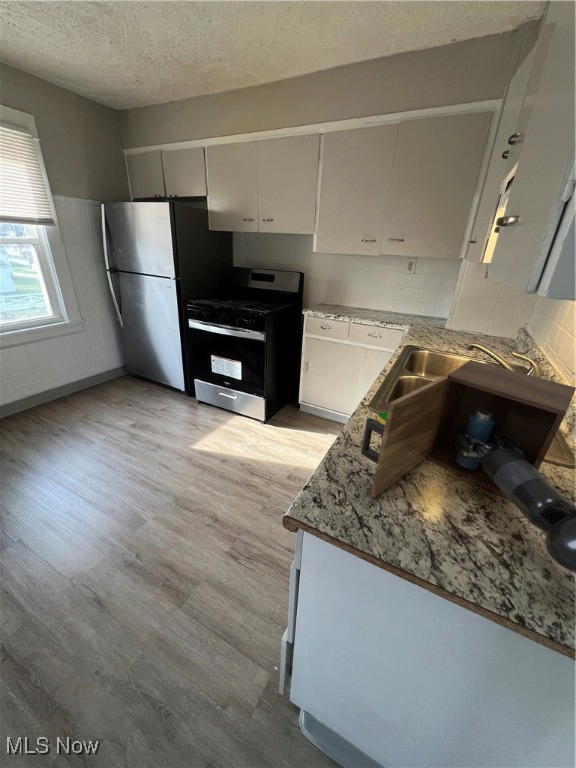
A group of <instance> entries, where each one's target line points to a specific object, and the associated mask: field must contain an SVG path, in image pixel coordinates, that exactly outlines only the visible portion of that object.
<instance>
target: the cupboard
mask: <svg viewBox="0 0 576 768" xmlns="http://www.w3.org/2000/svg"><path fill="white" fill-rule="evenodd" d="M446 377H448V380H447V383H446V387H445V390H444V394H443V397H442V401H441V404H440V408H439V411H438V415H437V418H436V422H435V425H434V429H433V432H432V436H431V439H430V443H429V447H428V450H427V454H426V457H425V460H428V461H430V462H433V463H435V464H437V465H438V466H441V467H442V468H445V469H447V470H449V471H451V472H453V473H455V474H456V475H459V476H461V477H463V478H465V479H467V480H469V481H471V482H473V483H475V484H477V485H480V486H481V487H484V488H486V489H487V490H490V491H492V492H494V493H495V494H498V495H499V496H502V497H504V498H505V499H508V498H507V497H506V496H505V495H504V493H503V492H502V491H501V490H500V489H499V488H498V486H497V485H496V484H495V483H494V482H493V480H492V479H491V478H490V477H489V476H488V474H487V473H486V472H485V470H484V468H483V465H482V463H481V462H480V464H479V466H478V468H476V469H469V468H465V467H463V466H461V465H460V464H458V463H457V462H456V459H455V458H456V455H457V452H458V449H457V447H456V441H457V438H458V436H457V434H456V430H457V428H458V426H462V427H463V428H464V429H465V428H466V425H467V422H468V419H469V416H470V414H471V413H472V412H476V409H479V408H482V409H486V410H489V411H491V412H492V413H493V416H492V417H493V418H494V419H495V424H494V427H493V429H492V433H493V434H494V435H498V436H499V437H500V438H502V437H507V438H509V439H510V440H512V441H513V442H514V443H516V444H517V445H519V446H520V447H522V448H523V449H525V450H526V451H527V452H526V454H525V457H524V458H525V459H526V460H527V461H528V462H529V463H530V464H531V465H532V466H534V467H535V468H536V469H537V470H538V471H539V470H540V468H541V466H542V463H543V461H544V460H545V457H546V455H547V454H548V451H549V449H550V447H551V445H552V443H553V441H554V438H555V437H556V435H557V433H558V431H559V429H560V426H561V424H562V422H563V420H564V418H565V416H566V414H567V412H568V410H569V408H570V406H571V402H572V400H573V397H574V395H575V392H576V387H575V386H571V385H568V384H564V383H560V382H556V381H552V380H549V379H545V378H541V377H538V376H535V375H530V374H526V373H522V372H518V371H514V370H510V369H507V368H503V367H499V366H496V365H492V364H488V363H484V362H481V361H477V360H473V359H469V360H468V361H466V362H465V363H463V364H462V365H461V366H458V368H456V369H455V370H453V371H452V372H451V373H449V374H447V376H446ZM488 443H490V442H488ZM506 446H507V447H509V444H508V443H507V444H506Z"/></svg>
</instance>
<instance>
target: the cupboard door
mask: <svg viewBox="0 0 576 768" xmlns="http://www.w3.org/2000/svg"><path fill="white" fill-rule="evenodd" d="M447 380H448V377H447V376H445V375H444V376H441V377H439V378H437V379H435V380H433V381H431V382H429V383H427V384H425V385H423V386H421V387H419V388H417V389H415V390H412V391H410V392H408V393H407V394H405V395H402V396H400V397H398V398H396V399H394V400H392V401H390V402H389V404H388V408H387V411H388V413H387V418H386V423H385V425H383V424H382V423H380V422H379V421H378V420H377V419H376V420H375V419H374V418H372V417H368V418H366V421H365V427H364V433H363V437H362V444H361V450H360V454H361V455H362V456H364V457H365V458H367V459H368V460H370V461H372V462H373V463H375V464H376V468H375V472H374V478H373V483H372V488H371V492H370V496H371V497H372V498H377V496H379V495H380V494H382V492H384V491H386V490H387V489H388V488H389V487H391V486H392V485H393V484H394V483H396V482H398V480H400V479H401V478H403V477H404V476H405V475H406V474H408V473H409V472H410V471H412V470H413V469H415V468H416V467H417V466H418V465H419V464H421V463H422V462H423V461H425V460H426V458H425V457H426V454H427V450H428V447H429V443H430V439H431V436H432V432H433V429H434V425H435V422H436V418H437V415H438V411H439V408H440V404H441V401H442V397H443V394H444V390H445V387H446V383H447ZM373 432H374V433H377V434H379V435H380V436H382V438H381V444H380V448H379V452H378V451H376V450H374V449H373V448H371V447H370V445H371V439H372V434H373Z"/></svg>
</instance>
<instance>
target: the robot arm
mask: <svg viewBox="0 0 576 768" xmlns="http://www.w3.org/2000/svg"><path fill="white" fill-rule="evenodd" d="M456 434H457V436H458V438H457V441H456V447H457V449H458V451H459V453H460V455H461V457H462V458H463V459H467V457H468V456H470V457H475V458H476V459H477V460H478V461H480V462H481V463H482V465H483V468H484V470H485V472H486V473H487V474H488V476H489V477H490V478H491V479H492V480H493V482H494V483H495V484H496V485H497V486H498V488H499V489H500V490H501V491H502V492H503V493H504V495H505V496H506V497H507V498H506V497H505V498H506V499H508V500H509V501H511V502H512V503H513V505H514V506H515V507H516V508H517V509H518V510H519V512H520V513H521V514H522V515H523V517H525V519H526V520H527V521H529V523H531V524H532V525H533V526H534V527H536V528H537V529H539V530H540V531H542V532H544V533H545V539H544V544H545V545H544V546H545V549H546V552H547V554H548V555H549V556H550V558H551V559H552V560H553V561H554V562H555V563H556V564H558V565H559V566H561V567H562V568H564V569H566V570H568V571H570V572H571V573H574V574H576V507H575V506H574V505H573V504H571V503H570V502H569V500H567V499H566V498H565V497H564V496H563V495H562V493H560V491H558V489H556V488H555V487H554V486H553V485H552V484H551V483H550V482H549V481H548V480H547V479H546V478H545V476H544V475H543V474H542V473H541V472H540V471H539V470H537V469H536V468H535V467H534V466H532V465H531V464H530V463H529V462H528V461H527V460H526V459H525V458H524V457H525V454H526V452H527V451H526V450H525V449H523V448H522V447H520V446H519V445H517V444H516V443H514V442H513V441H512V440H510V439H509V438H507V437H502V438H500V437H499V436H498V435H494V434H493V433H492V432H491V435H490V437H489V440H488V442H490V443H485V442H484V441H482V440H481V439H479V438H474V437H472V436H471V435H469V433H468V432H467V431H466V430H465V429H464V428H463V427H462V426H458V428H457V430H456ZM469 440H470V441H471V444H470V443H468V441H469ZM507 443H508V444H509V447H507V446H506V444H507ZM477 444H478V446H477ZM476 447H477V449H476Z"/></svg>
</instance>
